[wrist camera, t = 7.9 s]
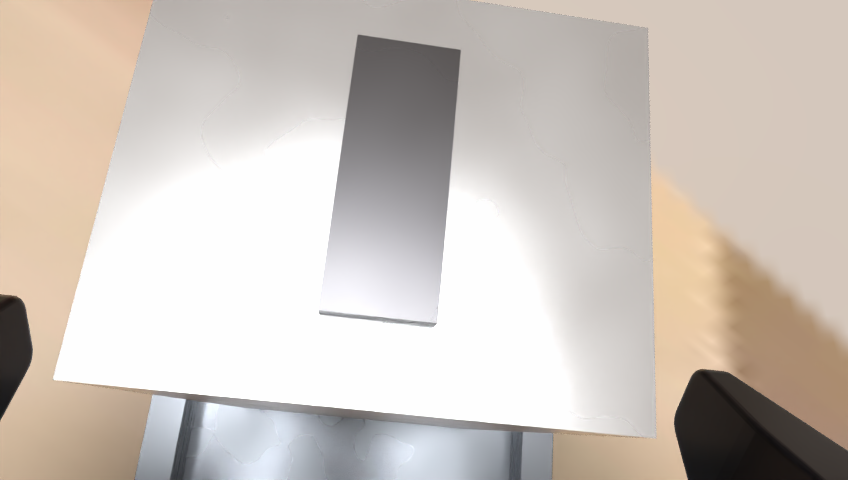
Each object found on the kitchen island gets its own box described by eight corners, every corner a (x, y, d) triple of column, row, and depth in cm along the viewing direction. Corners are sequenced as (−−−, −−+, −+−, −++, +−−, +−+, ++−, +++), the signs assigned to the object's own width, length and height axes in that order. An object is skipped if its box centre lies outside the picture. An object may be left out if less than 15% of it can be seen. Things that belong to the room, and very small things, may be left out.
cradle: (525, 591, 17) (577, 640, 13) (140, 563, 16) (74, 608, 12) (541, 153, 20) (585, 91, 17) (232, 112, 20) (204, 36, 16)
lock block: (465, 429, 17) (669, 438, 6) (243, 408, 16) (40, 378, 6) (476, 254, 18) (657, 15, 8) (274, 230, 18) (159, -64, 7)
